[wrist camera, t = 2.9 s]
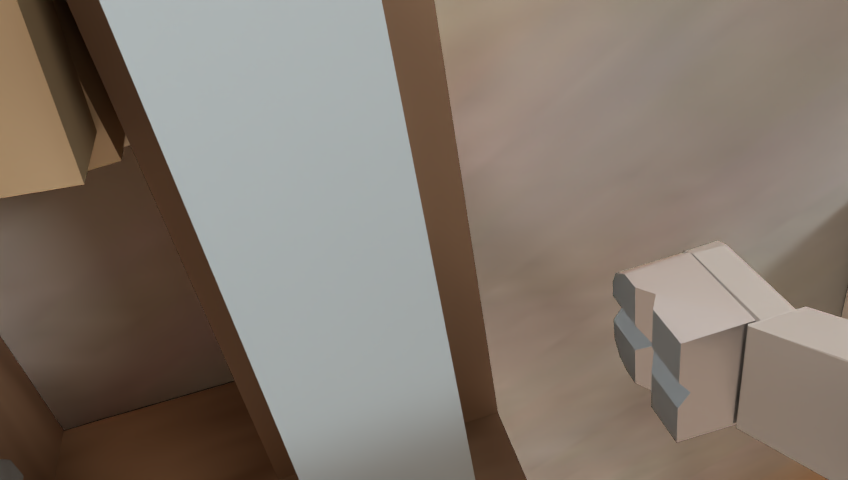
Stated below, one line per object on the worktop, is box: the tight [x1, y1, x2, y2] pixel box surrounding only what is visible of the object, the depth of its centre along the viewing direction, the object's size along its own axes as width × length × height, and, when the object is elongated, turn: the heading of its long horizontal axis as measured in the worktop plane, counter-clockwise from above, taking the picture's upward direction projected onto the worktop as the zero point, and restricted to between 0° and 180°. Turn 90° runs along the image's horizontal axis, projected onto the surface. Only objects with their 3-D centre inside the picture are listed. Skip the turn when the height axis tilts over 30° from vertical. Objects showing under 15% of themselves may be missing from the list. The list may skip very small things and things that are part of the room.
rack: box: [0, 0, 527, 480], centre depth 15 cm, size 13×19×7 cm
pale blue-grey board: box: [99, 0, 475, 480], centre depth 14 cm, size 2×14×10 cm, turn 9°
